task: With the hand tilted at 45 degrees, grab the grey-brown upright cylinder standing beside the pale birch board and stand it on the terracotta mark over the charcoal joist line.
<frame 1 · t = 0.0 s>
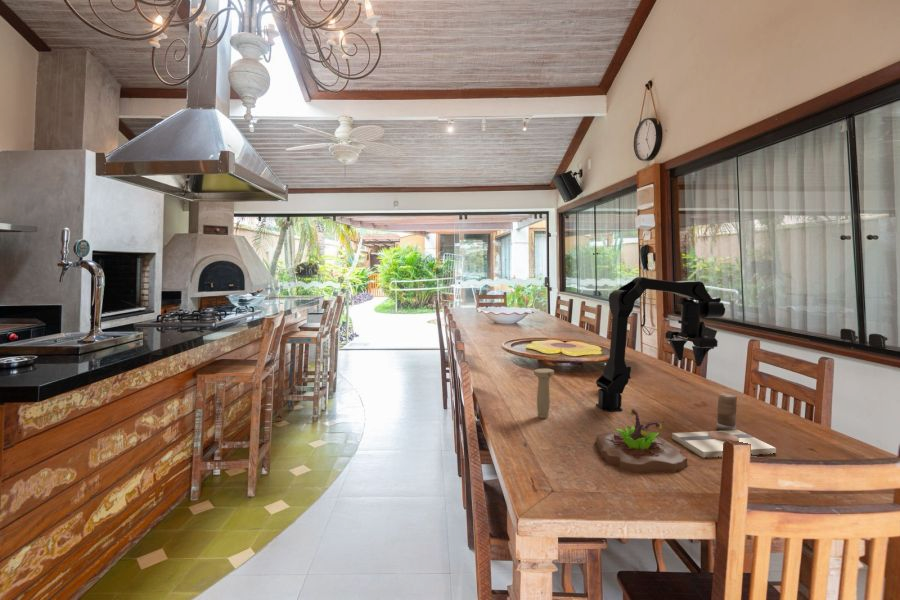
hand: (689, 363, 143), 15 cm above the table, tool pointing down, fingers open, 9 cm apart
handle: (543, 417, 132), on the table
plant: (637, 455, 106), on the table
grey-brown upright cylinder: (725, 429, 123), on the table
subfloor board: (721, 445, 111), on the table
drinking glass: (613, 390, 162), on the table
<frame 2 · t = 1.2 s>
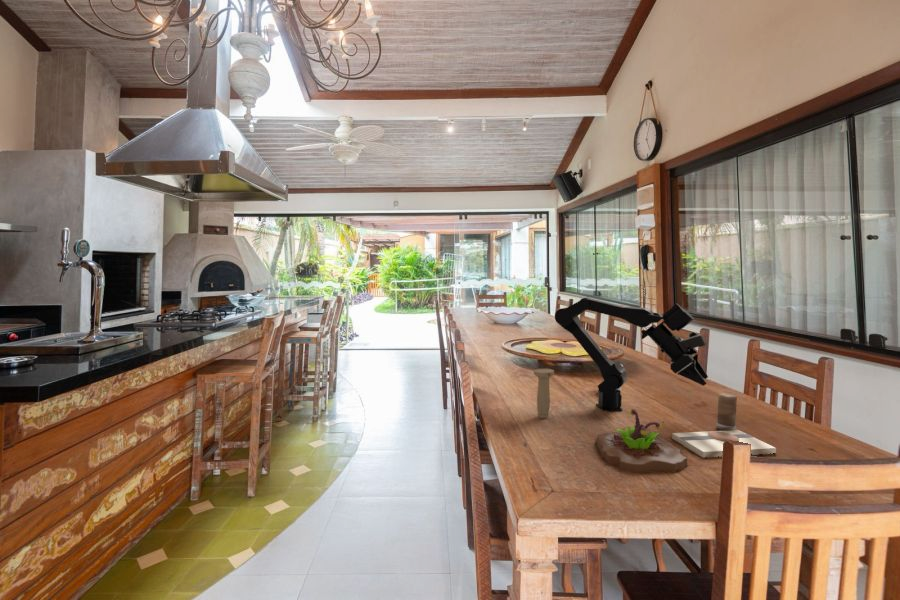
hand: (705, 381, 125), 13 cm above the table, tool tilted 45°, fingers open, 9 cm apart
nothing on the table moved.
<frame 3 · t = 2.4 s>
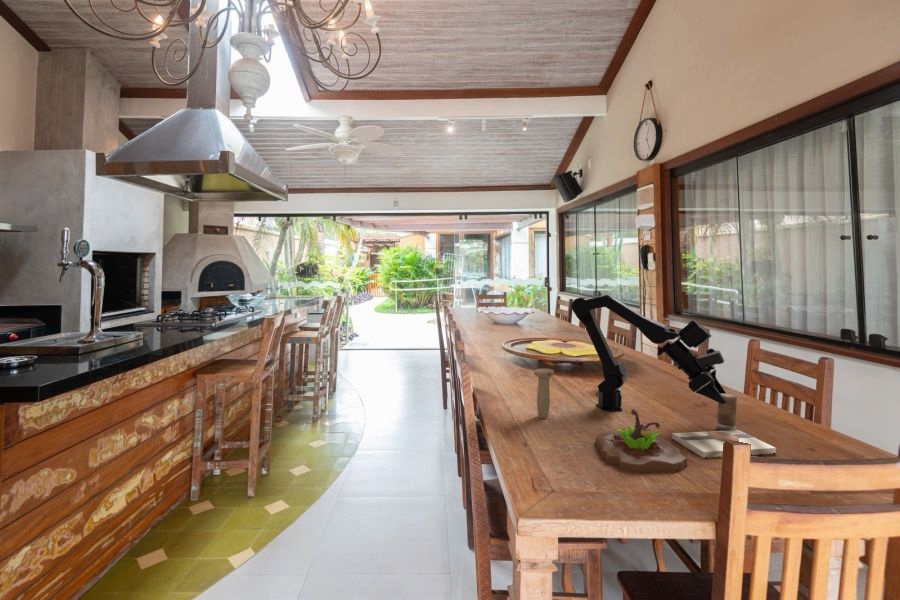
hand: (724, 399, 122), 9 cm above the table, tool tilted 45°, fingers open, 9 cm apart
nothing on the table moved.
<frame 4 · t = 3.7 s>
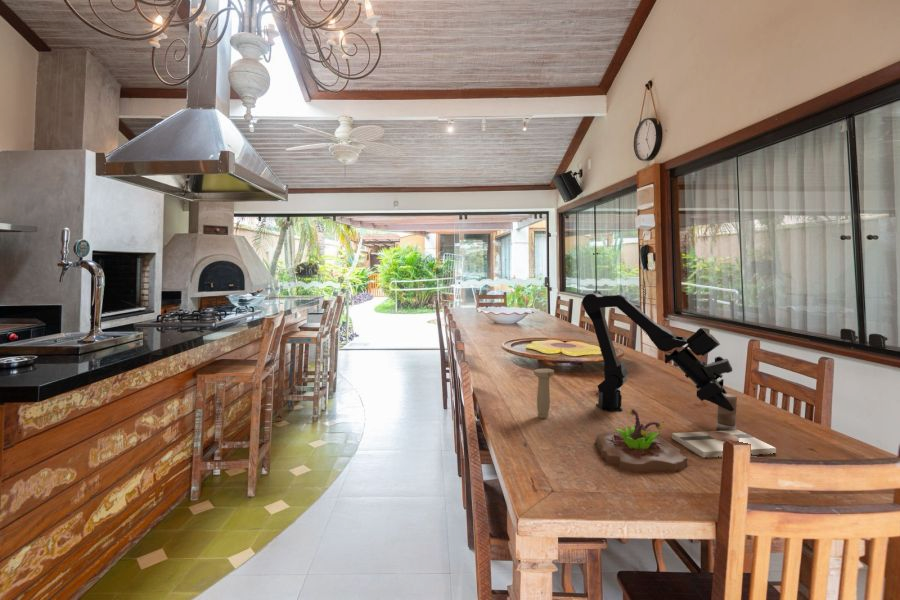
hand: (732, 408, 121), 7 cm above the table, tool tilted 45°, fingers closed on grey-brown upright cylinder, 4 cm apart
grey-brown upright cylinder: (726, 429, 123), on the table, touching gripper
everything else where it was.
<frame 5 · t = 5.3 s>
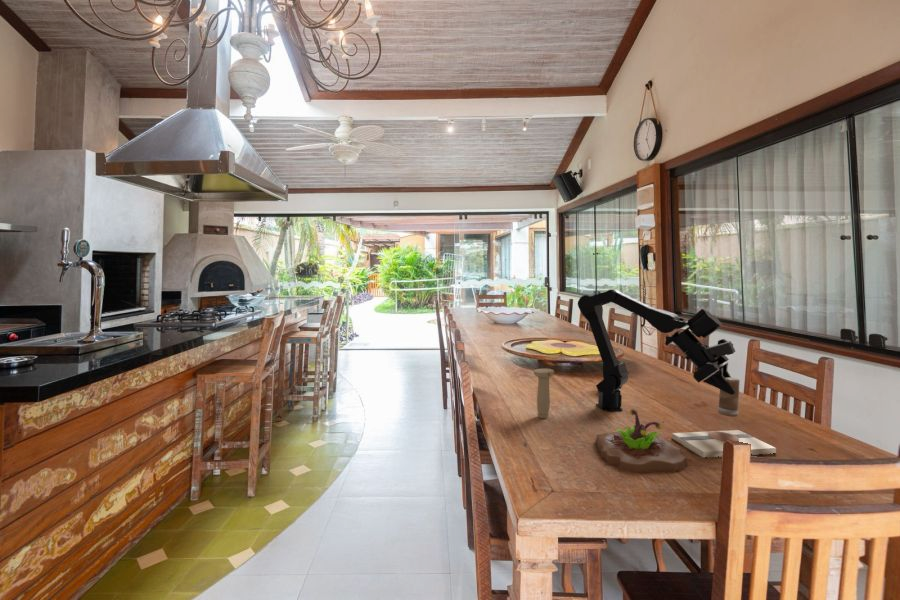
hand: (735, 391, 117), 13 cm above the table, tool tilted 45°, fingers closed on grey-brown upright cylinder, 4 cm apart
grey-brown upright cylinder: (727, 413, 118), point 6 cm above the table, touching gripper
everything else where it was.
when the fingers open (9 cm above the table, at t = 6.9 s): grey-brown upright cylinder drops 1 cm, resting on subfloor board.
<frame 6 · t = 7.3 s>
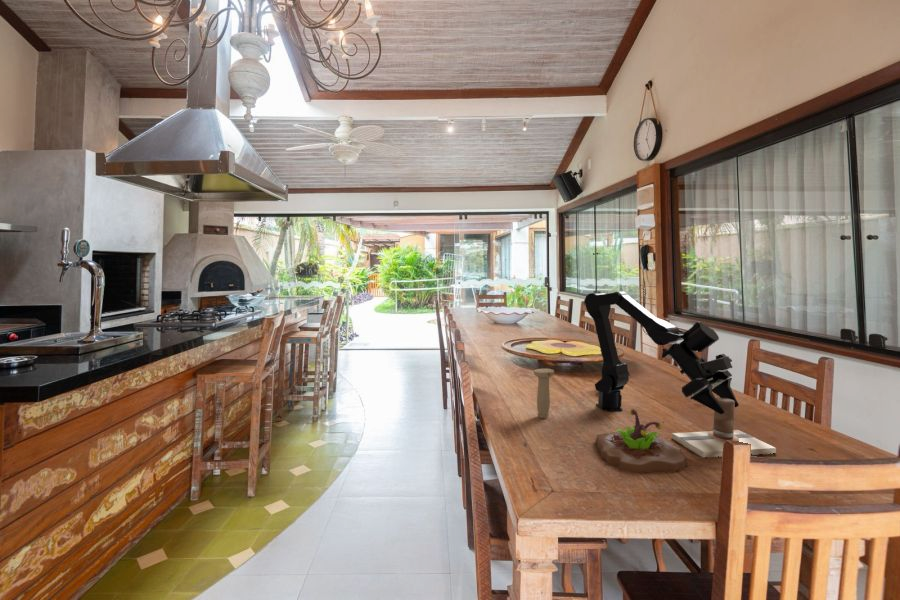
hand: (730, 409, 112), 9 cm above the table, tool tilted 45°, fingers open, 9 cm apart
grey-brown upright cylinder: (723, 436, 113), point 2 cm above the table, touching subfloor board
everything else where it was.
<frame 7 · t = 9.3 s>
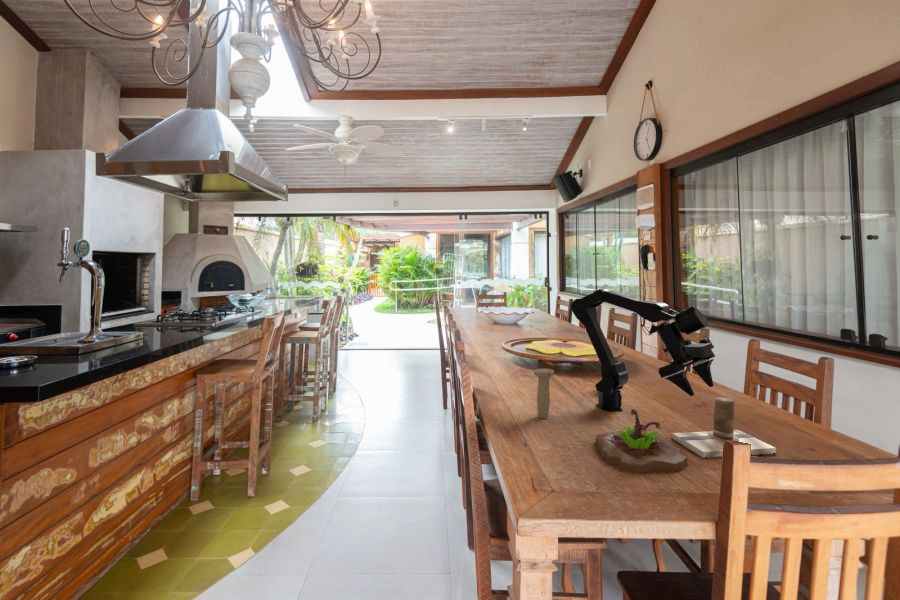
hand: (702, 391, 120), 12 cm above the table, tool tilted 30°, fingers open, 9 cm apart
nothing on the table moved.
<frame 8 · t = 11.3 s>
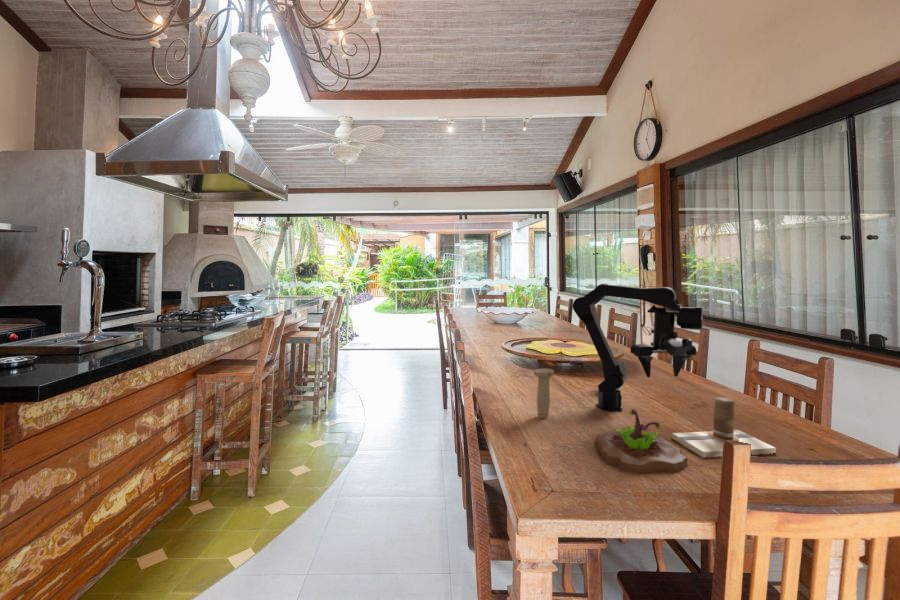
hand: (662, 376, 132), 13 cm above the table, tool pointing down, fingers open, 9 cm apart
nothing on the table moved.
at the end: grey-brown upright cylinder 0.0 cm from the target spot, point 1.7 cm above the table; grey-brown upright cylinder tilted 0°; the gripper is holding nothing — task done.
